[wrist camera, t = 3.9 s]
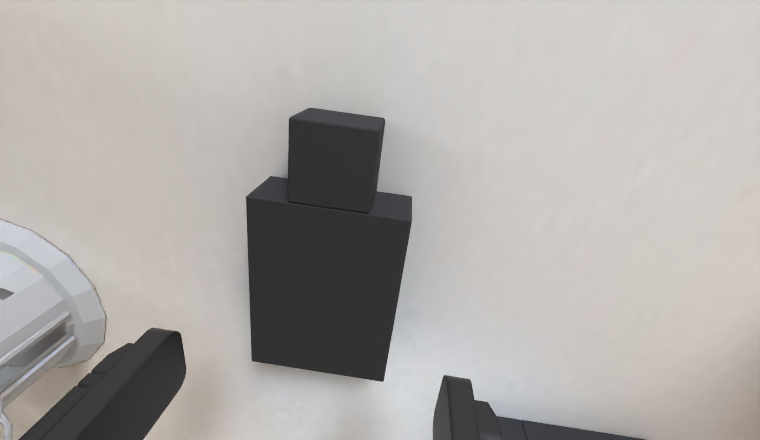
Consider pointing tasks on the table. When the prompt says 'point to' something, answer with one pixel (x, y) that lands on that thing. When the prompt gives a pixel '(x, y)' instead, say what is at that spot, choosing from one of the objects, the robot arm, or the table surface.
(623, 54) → the table surface
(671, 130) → the table surface
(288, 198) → the small pad
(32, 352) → the french press
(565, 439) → the large pad
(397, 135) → the table surface
